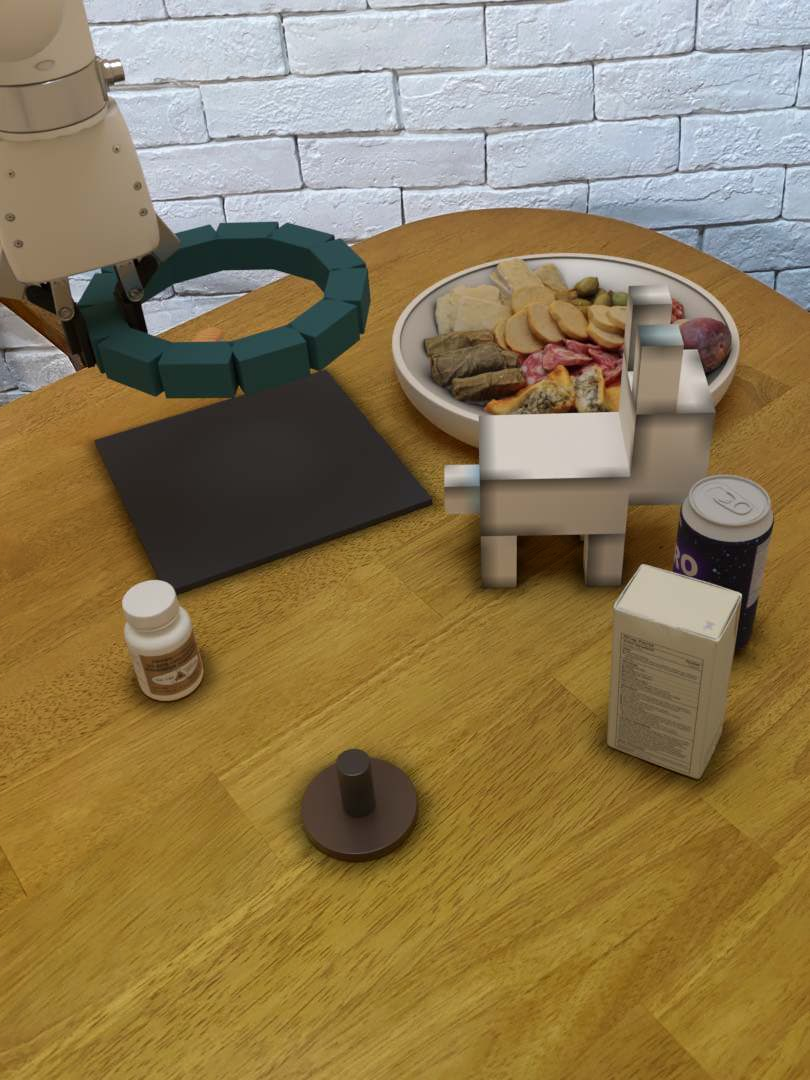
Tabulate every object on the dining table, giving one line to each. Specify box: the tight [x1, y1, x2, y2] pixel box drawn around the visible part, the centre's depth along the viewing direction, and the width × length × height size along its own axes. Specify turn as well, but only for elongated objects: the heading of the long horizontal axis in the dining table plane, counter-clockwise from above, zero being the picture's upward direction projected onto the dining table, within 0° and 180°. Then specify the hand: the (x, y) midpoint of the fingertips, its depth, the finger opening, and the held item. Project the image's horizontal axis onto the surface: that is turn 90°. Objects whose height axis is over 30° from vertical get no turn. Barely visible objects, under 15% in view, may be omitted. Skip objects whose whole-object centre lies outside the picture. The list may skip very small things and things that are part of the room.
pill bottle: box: [121, 579, 204, 702], centre depth 75 cm, size 4×4×8 cm
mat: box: [94, 369, 433, 595], centre depth 94 cm, size 22×22×1 cm
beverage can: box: [671, 474, 775, 653], centre depth 73 cm, size 6×6×12 cm
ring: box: [77, 221, 372, 400], centre depth 83 cm, size 21×21×3 cm
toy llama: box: [443, 285, 717, 589], centre depth 78 cm, size 8×18×20 cm, turn 88°
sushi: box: [190, 326, 225, 342], centre depth 107 cm, size 3×6×3 cm, turn 167°
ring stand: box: [300, 748, 419, 862], centre depth 67 cm, size 7×7×5 cm
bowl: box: [391, 252, 741, 449], centre depth 99 cm, size 30×30×8 cm
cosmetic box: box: [606, 563, 742, 780], centre depth 67 cm, size 6×4×12 cm
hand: (111, 349), depth 82 cm, fingers closed on ring, 2 cm apart
